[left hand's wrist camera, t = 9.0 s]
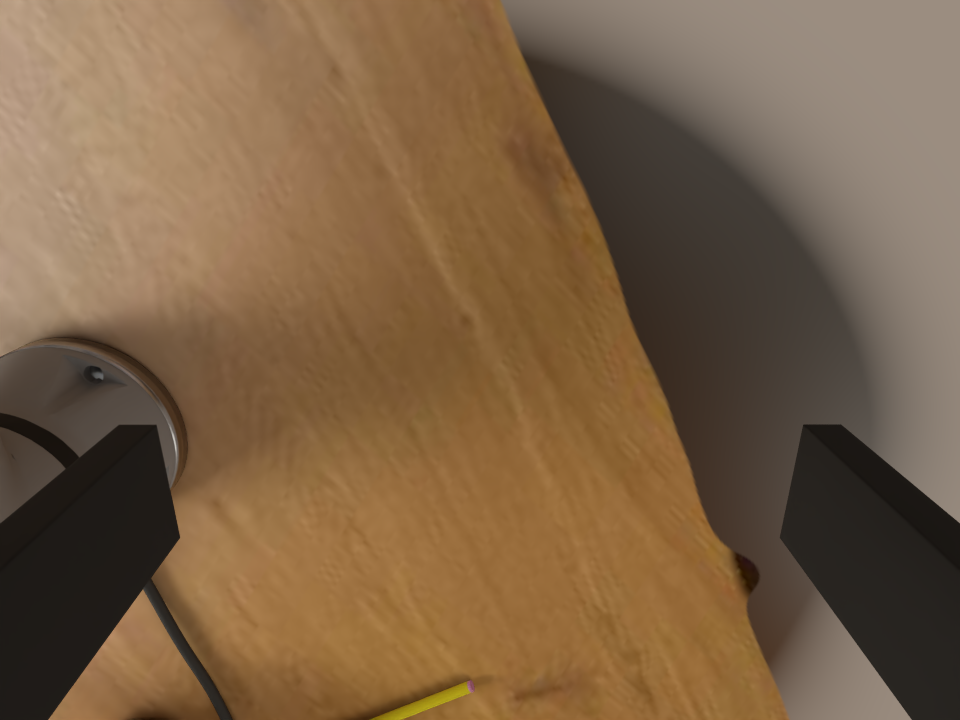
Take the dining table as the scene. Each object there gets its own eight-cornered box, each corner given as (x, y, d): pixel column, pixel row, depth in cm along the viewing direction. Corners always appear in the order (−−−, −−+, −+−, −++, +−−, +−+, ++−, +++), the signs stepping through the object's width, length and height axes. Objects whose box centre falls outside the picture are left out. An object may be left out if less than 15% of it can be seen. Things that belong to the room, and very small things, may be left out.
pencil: (469, 677, 56) (469, 686, 55) (474, 684, 57) (474, 694, 56) (316, 737, 59) (314, 747, 58) (322, 744, 59) (319, 753, 59)
